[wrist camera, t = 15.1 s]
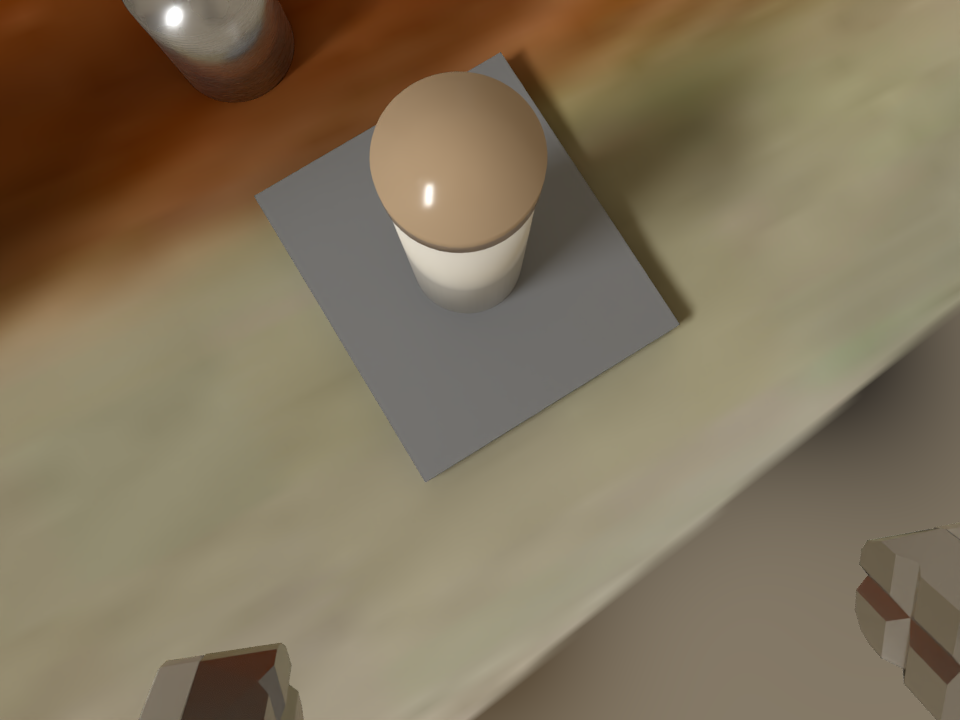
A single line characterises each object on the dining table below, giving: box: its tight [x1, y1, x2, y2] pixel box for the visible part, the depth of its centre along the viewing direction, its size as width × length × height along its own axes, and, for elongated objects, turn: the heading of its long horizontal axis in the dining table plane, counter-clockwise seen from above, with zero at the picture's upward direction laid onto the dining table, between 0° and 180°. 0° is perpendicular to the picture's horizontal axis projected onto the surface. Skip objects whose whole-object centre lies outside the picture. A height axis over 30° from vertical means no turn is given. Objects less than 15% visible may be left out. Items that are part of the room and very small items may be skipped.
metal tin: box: [122, 0, 294, 102], centre depth 33 cm, size 6×6×6 cm
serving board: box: [254, 52, 680, 482], centre depth 34 cm, size 16×14×1 cm
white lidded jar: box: [370, 72, 547, 314], centre depth 27 cm, size 5×5×12 cm
